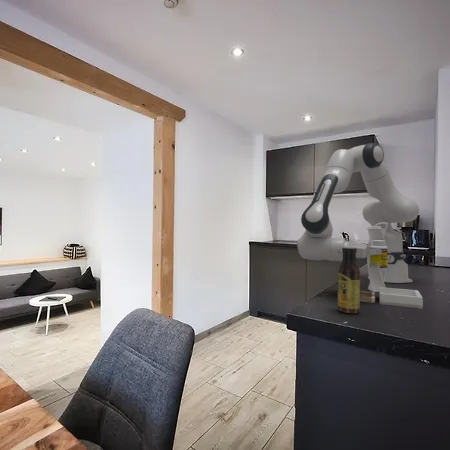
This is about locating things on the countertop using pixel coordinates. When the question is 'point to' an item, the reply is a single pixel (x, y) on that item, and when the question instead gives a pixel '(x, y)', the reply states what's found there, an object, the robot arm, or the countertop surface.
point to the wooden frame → (367, 299)
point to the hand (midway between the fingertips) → (381, 251)
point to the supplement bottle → (379, 256)
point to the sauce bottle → (349, 282)
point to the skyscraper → (374, 275)
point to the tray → (401, 297)
